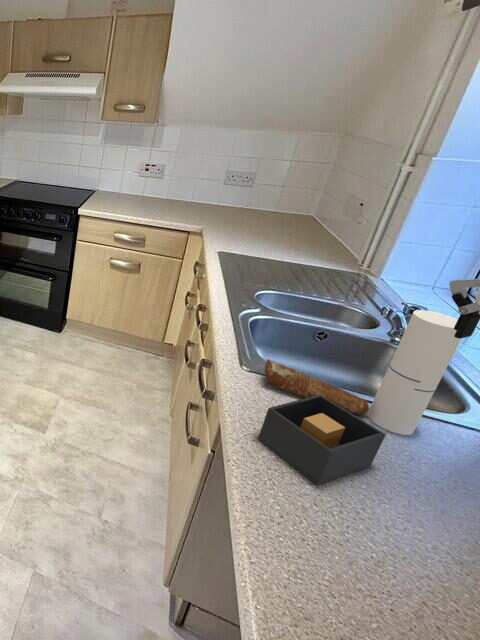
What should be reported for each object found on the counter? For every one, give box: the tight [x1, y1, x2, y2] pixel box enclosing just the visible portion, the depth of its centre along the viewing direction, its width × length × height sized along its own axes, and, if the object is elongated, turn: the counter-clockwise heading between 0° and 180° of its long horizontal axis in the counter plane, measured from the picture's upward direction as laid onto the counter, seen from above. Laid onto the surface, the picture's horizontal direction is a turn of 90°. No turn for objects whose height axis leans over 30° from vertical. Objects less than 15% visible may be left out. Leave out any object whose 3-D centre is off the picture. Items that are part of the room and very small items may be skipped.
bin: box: [257, 395, 386, 486], centre depth 78 cm, size 14×11×8 cm
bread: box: [264, 358, 370, 416], centre depth 94 cm, size 6×19×6 cm, turn 49°
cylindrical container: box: [367, 309, 463, 436], centre depth 83 cm, size 7×7×25 cm
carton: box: [300, 413, 345, 449], centre depth 78 cm, size 5×4×6 cm
